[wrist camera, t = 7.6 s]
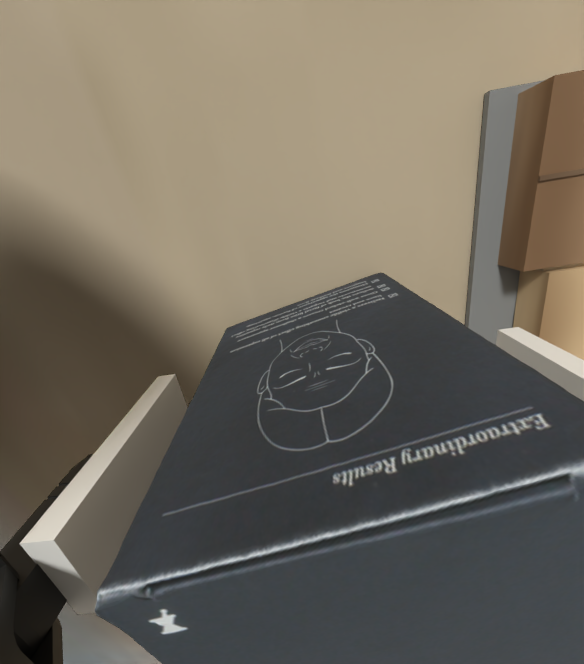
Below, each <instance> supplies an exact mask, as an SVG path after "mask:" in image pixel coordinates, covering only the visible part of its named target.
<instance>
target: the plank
mask: <svg viewBox="0 0 584 664" xmlns="http://www.w3.org/2000/svg"><path fill="white" fill-rule="evenodd" d="M515 327H519V328H521V329H523V330H525V331H527V332H529V333H531V334H533V335H535V336H537V337H539V338H541V339H543V340H545V341H547V342H549V343H551V344H553V345H555V346H557V347H559V348H561V349H563V350H564V351H566V352H568V353H570V354H572V355H574V356H576V357H578V358H580V359H582V360H584V263H577V264H570V265H564V266H557V267H551V268H544V269H538V270H531V271H524V272H523V271H520V275H519V283H518V291H517V299H516V307H515V315H514V323H513V328H515Z"/></svg>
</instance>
